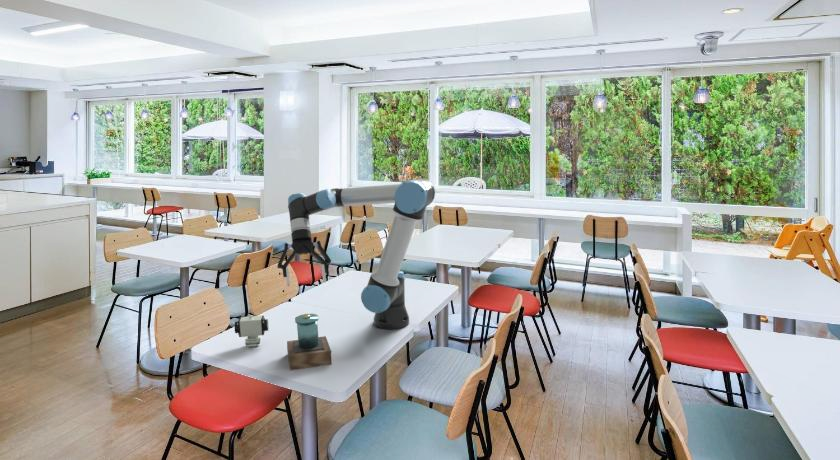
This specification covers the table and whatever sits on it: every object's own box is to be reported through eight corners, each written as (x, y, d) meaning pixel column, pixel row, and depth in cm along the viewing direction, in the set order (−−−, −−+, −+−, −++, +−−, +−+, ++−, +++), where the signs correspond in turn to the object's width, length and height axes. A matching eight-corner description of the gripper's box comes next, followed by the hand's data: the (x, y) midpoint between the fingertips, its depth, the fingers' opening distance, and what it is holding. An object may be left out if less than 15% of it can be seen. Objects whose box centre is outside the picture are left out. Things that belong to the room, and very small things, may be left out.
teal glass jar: (319, 338, 181) (317, 310, 179) (321, 346, 173) (319, 317, 171) (296, 341, 179) (294, 313, 177) (297, 350, 171) (295, 320, 169)
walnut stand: (326, 348, 185) (325, 335, 184) (331, 364, 172) (331, 349, 171) (287, 354, 181) (286, 340, 180) (290, 370, 168) (289, 355, 167)
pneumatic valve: (268, 346, 188) (266, 316, 186) (236, 349, 186) (233, 318, 184) (269, 341, 193) (267, 311, 191) (238, 343, 191) (236, 313, 189)
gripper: (331, 232, 203) (337, 282, 197) (267, 237, 195) (272, 289, 188) (333, 226, 197) (340, 277, 190) (268, 230, 188) (273, 283, 181)
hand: (306, 283), depth 189 cm, fingers open, 13 cm apart
